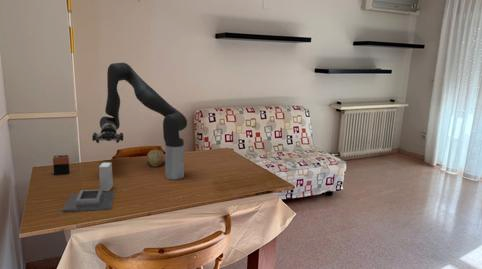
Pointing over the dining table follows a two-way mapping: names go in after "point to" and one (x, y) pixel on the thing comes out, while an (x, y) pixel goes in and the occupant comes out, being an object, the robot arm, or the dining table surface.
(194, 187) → the dining table surface
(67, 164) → the battery
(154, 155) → the bread roll
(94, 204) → the grey box holder
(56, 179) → the dining table surface
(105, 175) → the skincare box
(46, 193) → the dining table surface
